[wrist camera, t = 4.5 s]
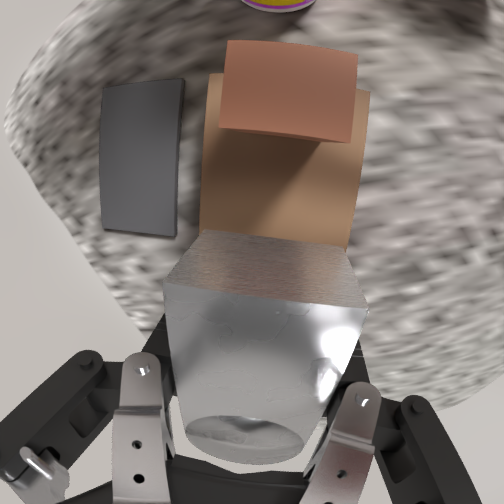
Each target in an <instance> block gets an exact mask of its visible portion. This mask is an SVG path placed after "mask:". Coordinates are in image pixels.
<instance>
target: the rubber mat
mask: <svg viewBox="0 0 504 504" xmlns="http://www.w3.org/2000/svg"><path fill="white" fill-rule="evenodd" d="M184 82H185V80H184V79H182V78H181V79H167V80H156V81H146V82H138V83H131V84H124V85H118V86H112V87H106V88H103V94H102V105H101V119H100V143H99V177H100V201H101V216H102V227H103V228H107V229H115V230H124V231H132V232H141V233H149V234H157V235H165V236H174V237H175V236H176V235H177V192H178V161H179V142H180V127H181V114H182V102H183V92H184Z"/></svg>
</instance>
